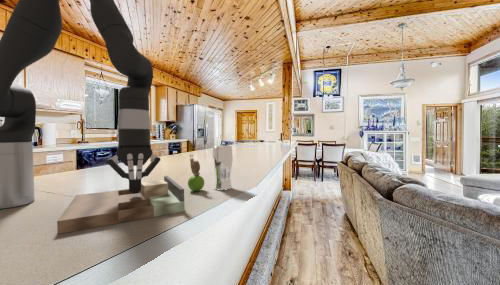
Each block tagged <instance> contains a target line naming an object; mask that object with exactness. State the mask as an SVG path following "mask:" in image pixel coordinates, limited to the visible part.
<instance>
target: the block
mask: <svg viewBox="0 0 500 285" xmlns="http://www.w3.org/2000/svg"><path fill="white" fill-rule="evenodd" d="M141 194H142V195H143V196H144V197H145V198H146V197H152V196H158V195H165V194H168V183H167V182H165V181H164V179H160V180H159V179H158V180H149V181H141Z"/></svg>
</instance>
